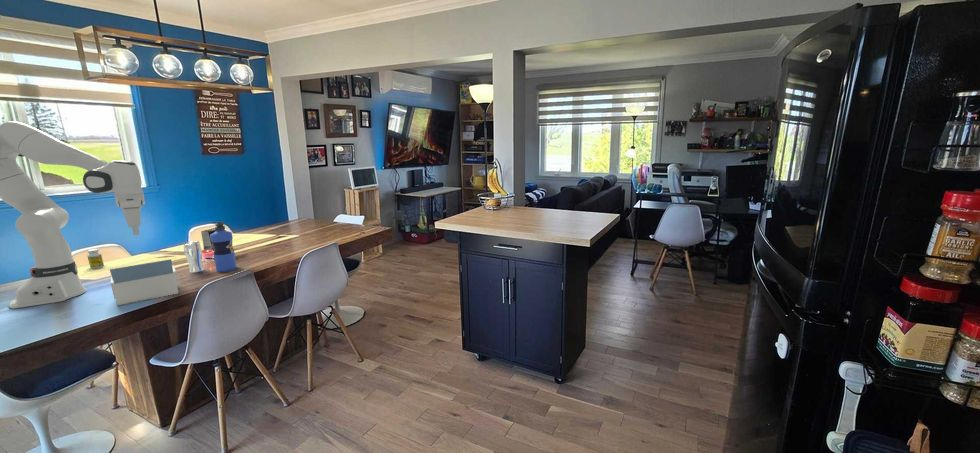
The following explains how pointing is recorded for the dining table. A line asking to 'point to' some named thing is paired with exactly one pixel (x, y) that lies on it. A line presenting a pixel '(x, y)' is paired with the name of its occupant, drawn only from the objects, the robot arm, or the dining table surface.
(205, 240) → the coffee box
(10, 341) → the dining table surface
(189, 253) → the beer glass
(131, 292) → the carton
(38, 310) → the dining table surface
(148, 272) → the front flap
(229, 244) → the water bottle
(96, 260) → the supplement bottle
